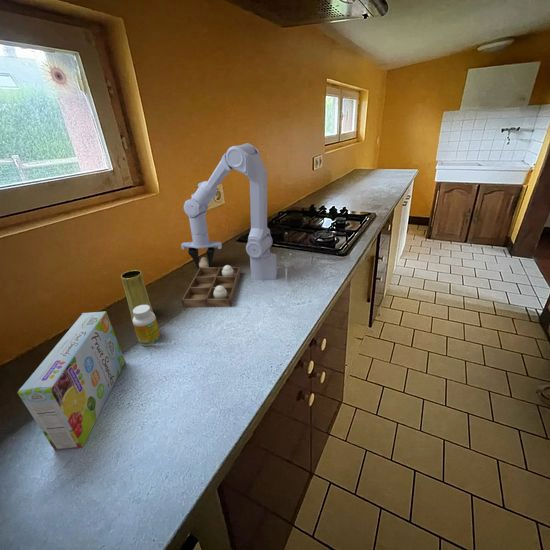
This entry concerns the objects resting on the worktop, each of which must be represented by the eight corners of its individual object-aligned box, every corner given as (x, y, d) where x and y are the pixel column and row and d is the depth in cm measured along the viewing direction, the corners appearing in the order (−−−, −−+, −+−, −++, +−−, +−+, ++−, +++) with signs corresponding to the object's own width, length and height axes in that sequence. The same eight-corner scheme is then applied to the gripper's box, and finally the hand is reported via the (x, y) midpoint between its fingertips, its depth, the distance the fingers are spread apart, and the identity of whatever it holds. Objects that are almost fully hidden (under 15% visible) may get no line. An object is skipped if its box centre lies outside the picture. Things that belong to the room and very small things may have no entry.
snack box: (102, 364, 71) (81, 311, 64) (126, 362, 72) (108, 309, 65) (51, 451, 53) (14, 391, 46) (84, 448, 53) (52, 388, 46)
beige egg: (211, 266, 117) (210, 255, 114) (209, 271, 113) (207, 259, 111) (201, 266, 117) (199, 255, 115) (198, 271, 113) (196, 259, 111)
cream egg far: (235, 275, 108) (234, 262, 106) (233, 281, 104) (232, 268, 102) (223, 275, 108) (222, 262, 106) (221, 281, 105) (219, 268, 102)
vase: (158, 313, 90) (147, 270, 83) (144, 325, 85) (131, 280, 78) (141, 309, 91) (130, 267, 85) (127, 321, 86) (113, 277, 80)
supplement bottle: (153, 347, 76) (144, 316, 72) (134, 345, 77) (124, 314, 73) (164, 334, 81) (157, 303, 76) (146, 332, 82) (138, 302, 77)
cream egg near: (228, 296, 96) (227, 282, 93) (226, 303, 92) (224, 289, 90) (215, 296, 96) (213, 282, 93) (213, 303, 92) (210, 289, 90)
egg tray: (240, 275, 110) (240, 267, 108) (231, 308, 91) (230, 299, 89) (200, 275, 110) (199, 267, 109) (183, 309, 91) (181, 299, 90)
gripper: (221, 227, 111) (225, 261, 118) (182, 228, 112) (188, 261, 118) (217, 234, 105) (222, 269, 111) (176, 235, 106) (183, 269, 112)
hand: (204, 265), depth 114 cm, fingers closed on beige egg, 4 cm apart
